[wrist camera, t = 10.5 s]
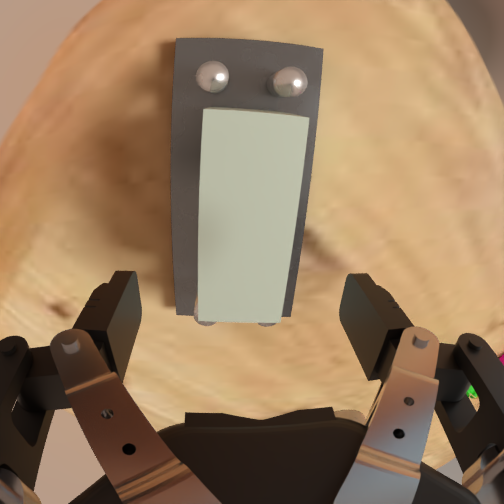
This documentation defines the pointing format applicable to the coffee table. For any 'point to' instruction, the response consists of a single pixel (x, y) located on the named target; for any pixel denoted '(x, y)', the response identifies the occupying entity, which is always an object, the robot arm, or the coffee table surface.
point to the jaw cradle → (232, 96)
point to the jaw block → (247, 211)
